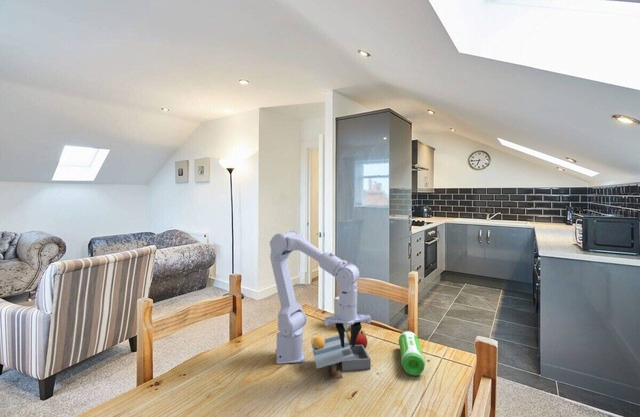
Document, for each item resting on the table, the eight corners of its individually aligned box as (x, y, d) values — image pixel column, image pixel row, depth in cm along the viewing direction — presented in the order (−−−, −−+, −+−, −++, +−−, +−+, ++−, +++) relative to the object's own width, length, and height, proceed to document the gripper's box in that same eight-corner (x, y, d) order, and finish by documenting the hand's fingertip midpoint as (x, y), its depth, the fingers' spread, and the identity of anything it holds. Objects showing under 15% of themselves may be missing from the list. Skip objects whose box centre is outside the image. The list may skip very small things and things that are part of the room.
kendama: (340, 335, 125) (349, 351, 107) (343, 319, 125) (351, 333, 107) (358, 338, 125) (369, 354, 107) (361, 322, 126) (372, 336, 108)
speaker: (398, 348, 112) (398, 328, 111) (418, 350, 110) (418, 330, 110) (401, 376, 94) (401, 352, 94) (425, 378, 93) (426, 355, 93)
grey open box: (342, 371, 96) (342, 361, 96) (336, 355, 106) (336, 346, 106) (370, 369, 98) (370, 359, 97) (362, 354, 107) (362, 344, 107)
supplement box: (357, 326, 130) (357, 297, 129) (346, 331, 125) (347, 302, 124) (344, 321, 135) (344, 293, 135) (333, 326, 130) (333, 297, 129)
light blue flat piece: (316, 368, 90) (315, 361, 90) (312, 347, 103) (310, 341, 103) (354, 357, 92) (353, 350, 92) (345, 338, 104) (344, 332, 104)
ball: (314, 352, 98) (312, 341, 97) (313, 346, 102) (311, 335, 101) (326, 350, 98) (324, 338, 98) (324, 344, 102) (323, 333, 102)
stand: (326, 379, 92) (326, 363, 92) (322, 361, 102) (322, 347, 102) (342, 377, 93) (342, 362, 93) (336, 360, 103) (336, 346, 103)
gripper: (327, 309, 89) (326, 353, 89) (374, 307, 91) (373, 350, 91) (323, 301, 96) (323, 342, 96) (367, 299, 98) (366, 339, 98)
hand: (347, 345), depth 94 cm, fingers open, 3 cm apart
